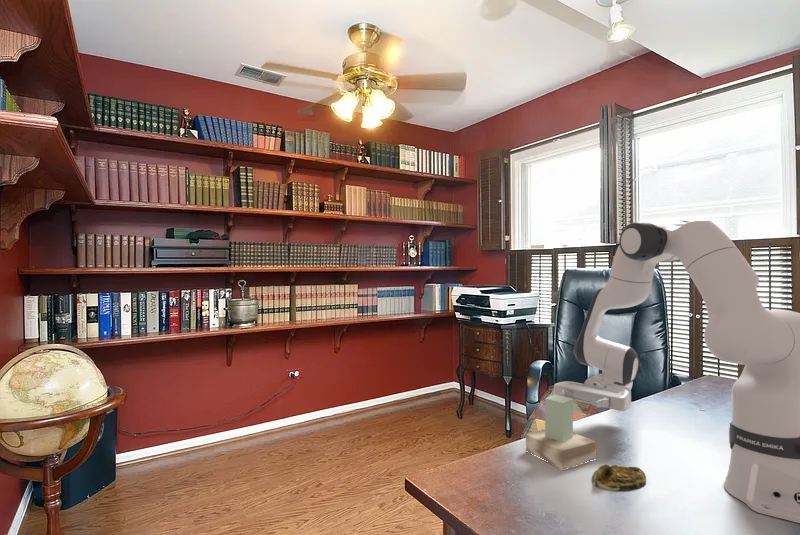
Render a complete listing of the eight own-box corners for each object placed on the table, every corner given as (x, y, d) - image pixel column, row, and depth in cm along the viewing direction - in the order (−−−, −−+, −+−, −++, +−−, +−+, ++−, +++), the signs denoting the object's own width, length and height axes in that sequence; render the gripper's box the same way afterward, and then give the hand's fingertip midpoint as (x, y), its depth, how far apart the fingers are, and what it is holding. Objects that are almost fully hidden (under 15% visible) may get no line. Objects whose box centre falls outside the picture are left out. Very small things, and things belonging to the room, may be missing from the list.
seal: (620, 470, 104) (580, 484, 97) (618, 450, 105) (578, 462, 98) (659, 481, 96) (618, 498, 89) (656, 460, 97) (615, 474, 89)
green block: (572, 437, 110) (572, 398, 110) (563, 442, 106) (563, 403, 106) (554, 431, 113) (554, 394, 113) (545, 436, 110) (545, 398, 110)
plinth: (596, 461, 107) (595, 441, 107) (562, 471, 101) (562, 450, 101) (558, 444, 117) (557, 426, 118) (526, 453, 112) (525, 434, 112)
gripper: (566, 374, 134) (543, 381, 124) (636, 387, 118) (616, 396, 109) (566, 394, 133) (543, 403, 124) (636, 409, 118) (616, 421, 109)
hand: (578, 400), depth 117 cm, fingers open, 8 cm apart
